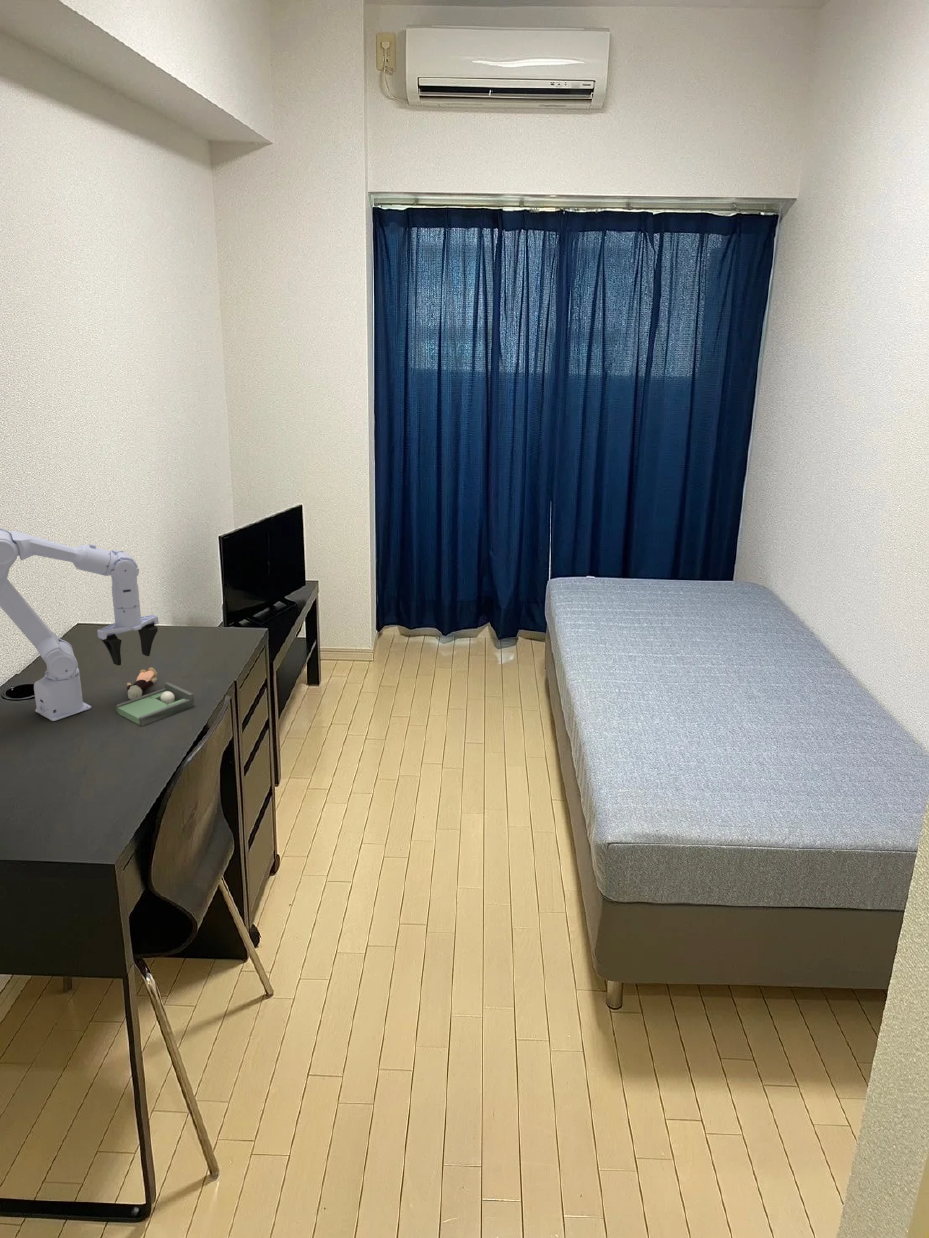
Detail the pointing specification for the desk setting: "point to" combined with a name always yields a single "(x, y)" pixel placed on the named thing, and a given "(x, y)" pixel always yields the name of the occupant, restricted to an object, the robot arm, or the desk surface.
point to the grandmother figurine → (141, 683)
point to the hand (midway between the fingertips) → (131, 659)
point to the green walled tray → (155, 705)
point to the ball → (167, 697)
